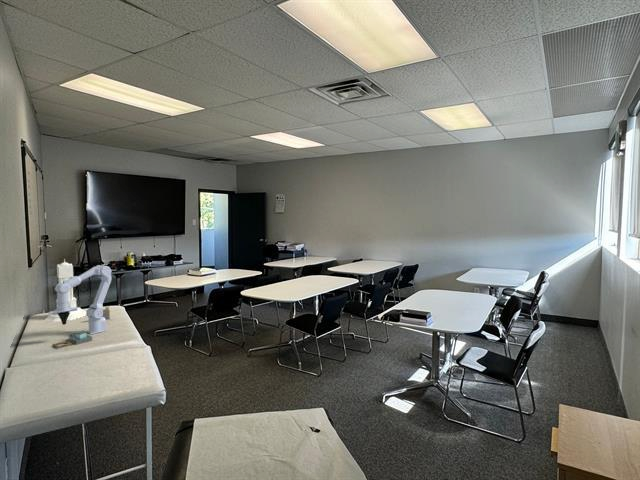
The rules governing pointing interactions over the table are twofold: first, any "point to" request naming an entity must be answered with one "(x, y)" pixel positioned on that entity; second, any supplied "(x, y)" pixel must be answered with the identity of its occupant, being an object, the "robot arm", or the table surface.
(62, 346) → the brown square frame
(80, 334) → the plug
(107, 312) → the ruin model on sheet
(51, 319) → the white castle tower
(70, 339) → the port
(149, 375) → the table surface
